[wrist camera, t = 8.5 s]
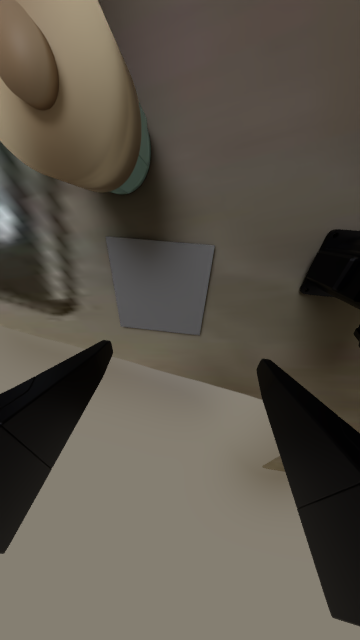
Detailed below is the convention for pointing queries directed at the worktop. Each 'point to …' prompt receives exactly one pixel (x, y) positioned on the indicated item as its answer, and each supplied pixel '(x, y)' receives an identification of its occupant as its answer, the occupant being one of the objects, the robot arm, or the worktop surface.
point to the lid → (67, 93)
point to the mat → (160, 283)
